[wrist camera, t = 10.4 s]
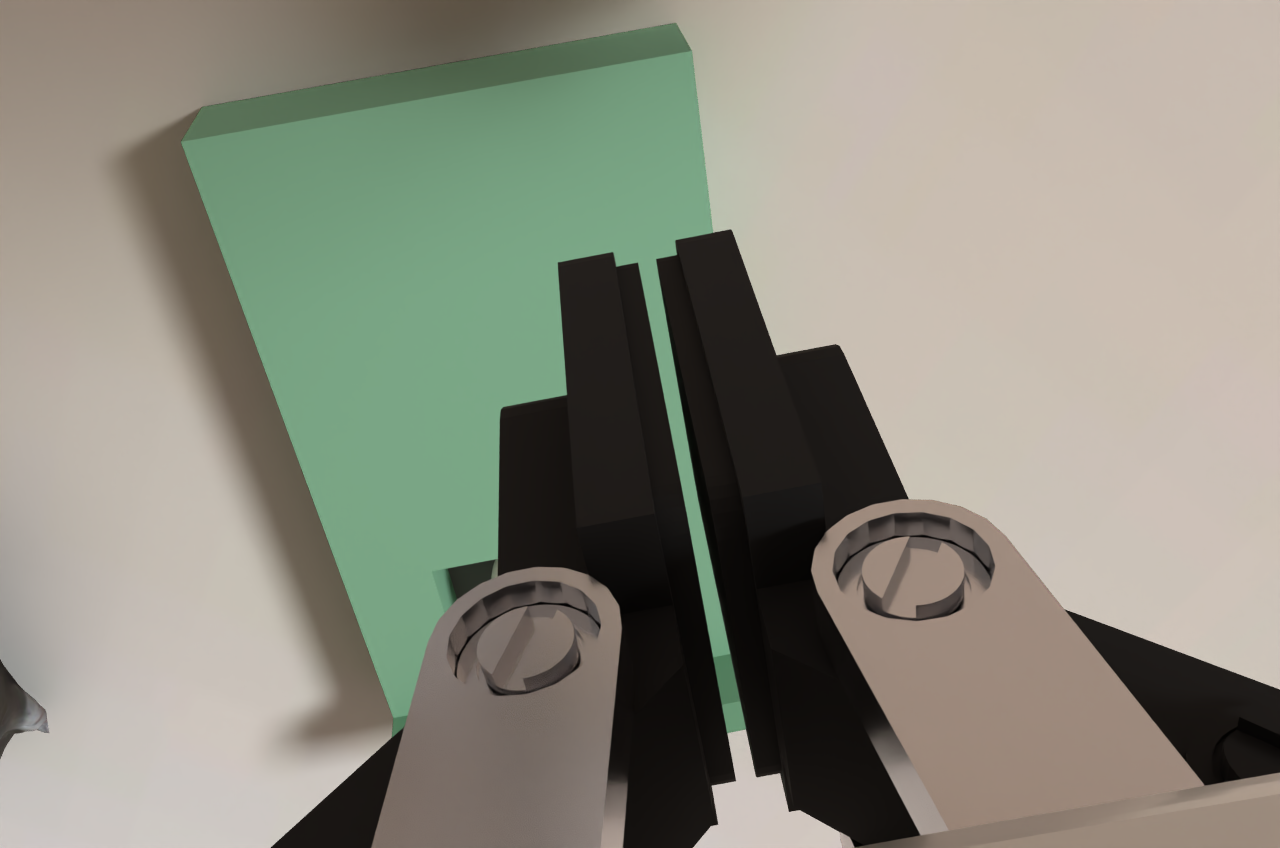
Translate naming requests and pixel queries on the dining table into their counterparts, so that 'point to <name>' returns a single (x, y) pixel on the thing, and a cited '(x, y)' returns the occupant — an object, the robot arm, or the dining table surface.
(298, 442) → the green
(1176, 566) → the dining table surface
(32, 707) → the lucky cat figurine
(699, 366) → the robot arm
